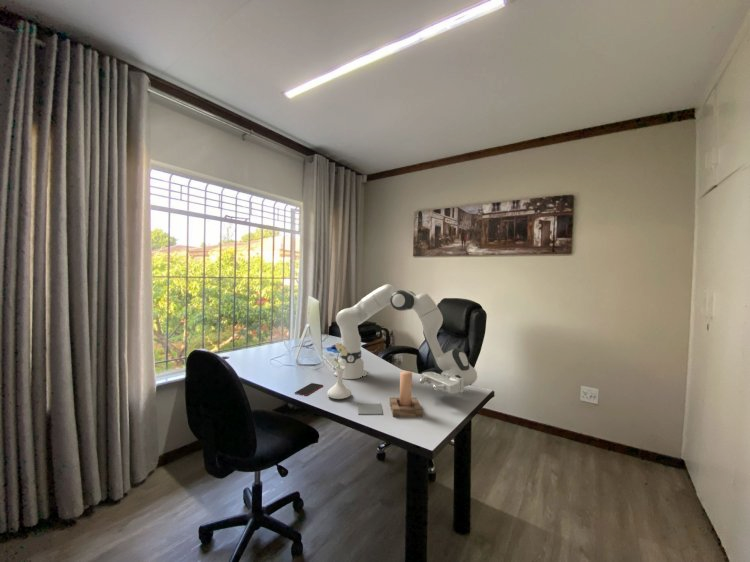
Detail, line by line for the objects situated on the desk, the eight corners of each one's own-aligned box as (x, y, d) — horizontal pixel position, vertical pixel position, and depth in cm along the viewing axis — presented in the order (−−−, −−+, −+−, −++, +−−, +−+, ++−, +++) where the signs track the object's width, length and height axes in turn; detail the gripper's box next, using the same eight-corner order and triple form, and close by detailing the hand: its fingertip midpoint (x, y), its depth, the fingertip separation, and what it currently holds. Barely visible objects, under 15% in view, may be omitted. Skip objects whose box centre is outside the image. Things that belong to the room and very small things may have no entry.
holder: (389, 404, 134) (389, 397, 134) (416, 404, 135) (416, 397, 135) (393, 416, 122) (393, 409, 122) (422, 416, 123) (422, 409, 123)
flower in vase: (354, 399, 138) (355, 345, 138) (330, 402, 134) (331, 346, 134) (346, 389, 151) (347, 339, 150) (323, 392, 146) (325, 341, 146)
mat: (358, 404, 133) (358, 403, 133) (380, 404, 134) (380, 403, 134) (358, 414, 123) (358, 413, 123) (382, 414, 124) (382, 413, 124)
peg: (398, 407, 131) (399, 371, 130) (409, 407, 131) (410, 371, 131) (400, 412, 126) (401, 374, 125) (412, 412, 126) (413, 374, 126)
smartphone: (293, 392, 144) (311, 382, 158) (293, 394, 144) (311, 384, 158) (306, 395, 141) (323, 385, 155) (306, 397, 141) (323, 386, 155)
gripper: (434, 367, 150) (412, 371, 143) (466, 379, 133) (443, 384, 126) (434, 379, 151) (412, 384, 143) (465, 393, 133) (442, 399, 126)
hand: (427, 384), depth 134 cm, fingers open, 8 cm apart
